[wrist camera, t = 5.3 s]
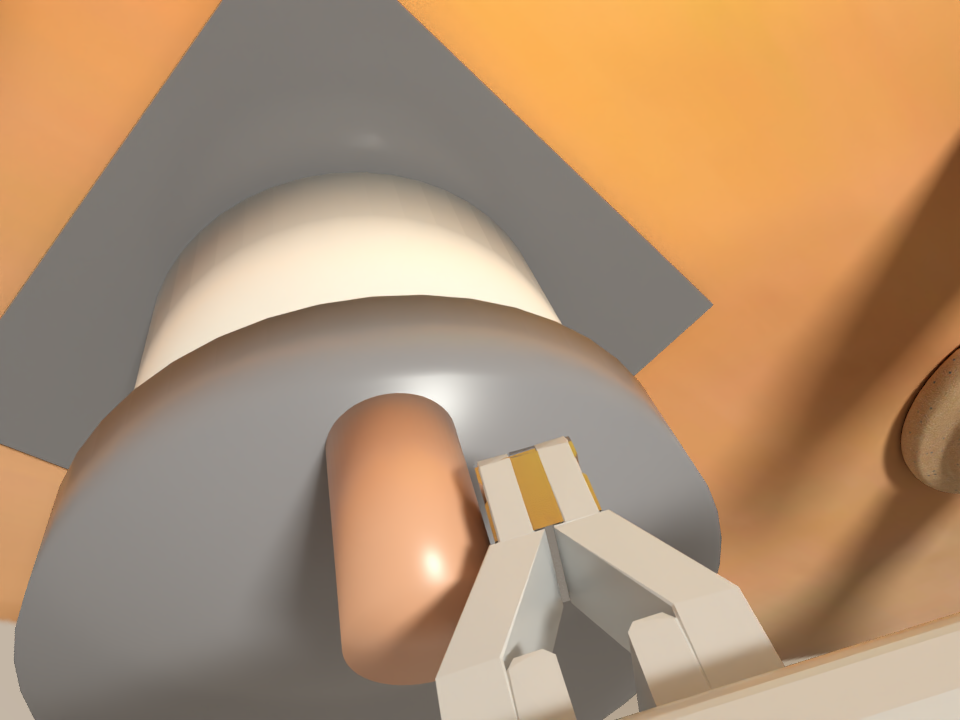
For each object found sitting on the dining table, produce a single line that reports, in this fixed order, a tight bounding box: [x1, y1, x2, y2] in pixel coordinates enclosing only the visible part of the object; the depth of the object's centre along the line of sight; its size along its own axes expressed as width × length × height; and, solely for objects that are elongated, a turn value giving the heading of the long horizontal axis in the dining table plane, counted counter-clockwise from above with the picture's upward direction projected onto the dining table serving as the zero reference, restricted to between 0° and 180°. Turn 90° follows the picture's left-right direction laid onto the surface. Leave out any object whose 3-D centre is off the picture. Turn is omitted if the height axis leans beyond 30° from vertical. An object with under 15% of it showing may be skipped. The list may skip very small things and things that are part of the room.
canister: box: [0, 0, 713, 469], centre depth 23 cm, size 20×20×9 cm
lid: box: [14, 295, 721, 720], centre depth 17 cm, size 16×16×7 cm
